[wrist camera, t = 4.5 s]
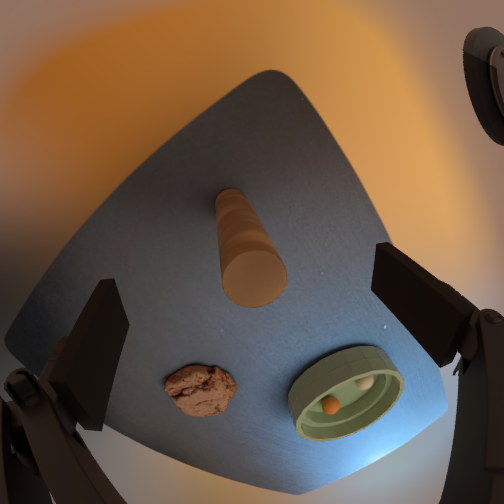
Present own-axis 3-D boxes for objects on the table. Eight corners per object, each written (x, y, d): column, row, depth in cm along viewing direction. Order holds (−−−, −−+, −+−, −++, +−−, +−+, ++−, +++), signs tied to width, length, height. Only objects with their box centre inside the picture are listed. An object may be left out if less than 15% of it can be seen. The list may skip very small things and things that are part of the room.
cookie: (179, 410, 39) (178, 425, 36) (156, 366, 34) (154, 383, 32) (241, 403, 40) (244, 418, 37) (230, 357, 35) (232, 373, 33)
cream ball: (370, 365, 40) (378, 378, 37) (366, 377, 41) (374, 390, 38) (353, 370, 39) (360, 383, 36) (350, 382, 40) (357, 395, 38)
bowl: (397, 330, 39) (417, 355, 33) (375, 399, 46) (387, 421, 40) (287, 357, 37) (298, 390, 31) (286, 423, 44) (293, 450, 38)
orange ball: (337, 391, 41) (344, 404, 38) (335, 401, 42) (341, 414, 39) (320, 395, 41) (326, 409, 38) (318, 405, 42) (323, 419, 39)
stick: (246, 186, 27) (286, 246, 13) (249, 218, 28) (287, 303, 15) (213, 190, 27) (218, 255, 13) (216, 222, 28) (226, 311, 14)
